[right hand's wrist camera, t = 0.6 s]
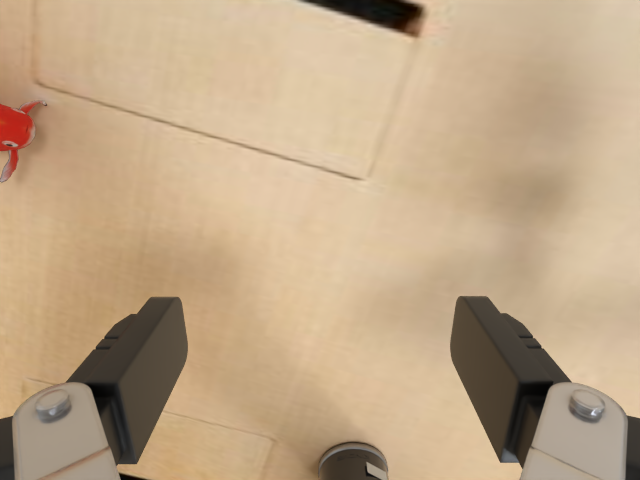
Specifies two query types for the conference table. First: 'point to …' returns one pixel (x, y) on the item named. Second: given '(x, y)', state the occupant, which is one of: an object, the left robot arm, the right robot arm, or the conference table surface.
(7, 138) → the fish
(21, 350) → the conference table surface
